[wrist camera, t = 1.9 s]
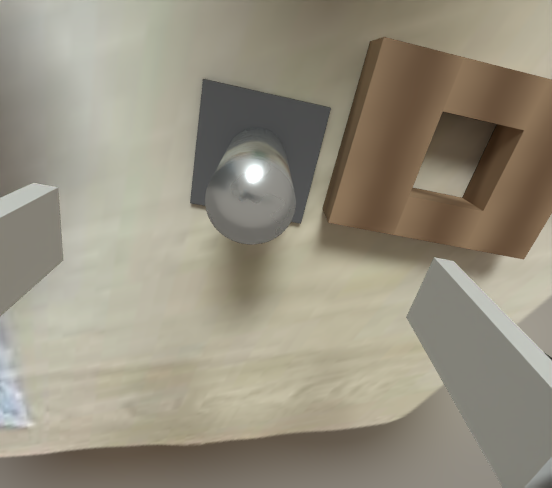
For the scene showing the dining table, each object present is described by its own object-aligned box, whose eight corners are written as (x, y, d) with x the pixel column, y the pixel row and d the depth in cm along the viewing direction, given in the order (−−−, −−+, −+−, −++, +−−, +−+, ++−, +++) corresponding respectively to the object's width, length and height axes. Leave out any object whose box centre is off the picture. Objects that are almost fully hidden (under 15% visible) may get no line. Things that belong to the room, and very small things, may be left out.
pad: (191, 201, 27) (190, 202, 27) (204, 79, 24) (203, 79, 23) (300, 221, 28) (300, 223, 28) (330, 107, 25) (330, 108, 24)
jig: (322, 208, 28) (328, 222, 25) (370, 41, 23) (384, 36, 20) (500, 242, 30) (523, 259, 27) (582, 94, 25) (621, 97, 22)
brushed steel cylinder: (223, 180, 26) (200, 236, 17) (231, 121, 24) (211, 149, 16) (279, 191, 27) (284, 251, 18) (291, 134, 25) (305, 168, 16)
